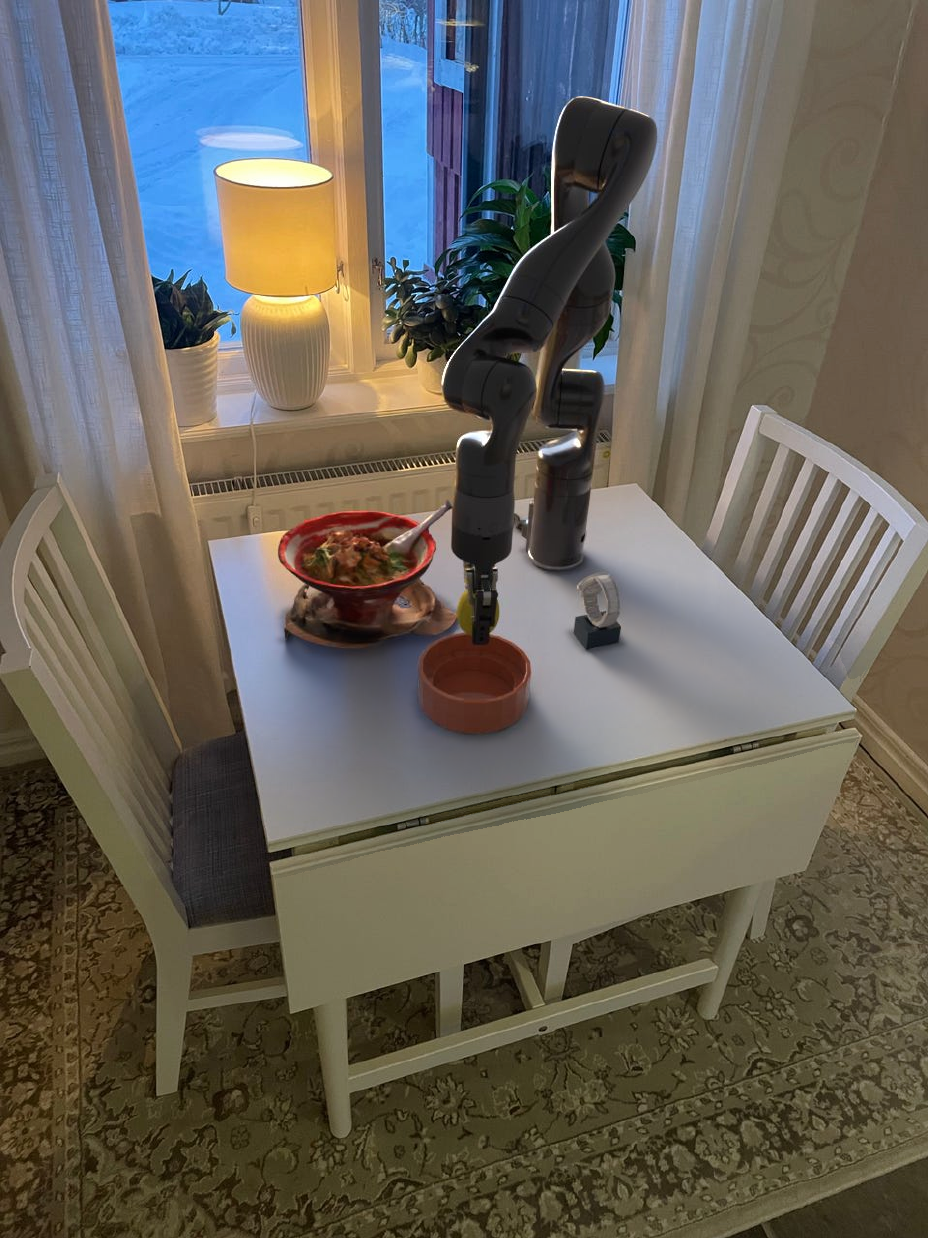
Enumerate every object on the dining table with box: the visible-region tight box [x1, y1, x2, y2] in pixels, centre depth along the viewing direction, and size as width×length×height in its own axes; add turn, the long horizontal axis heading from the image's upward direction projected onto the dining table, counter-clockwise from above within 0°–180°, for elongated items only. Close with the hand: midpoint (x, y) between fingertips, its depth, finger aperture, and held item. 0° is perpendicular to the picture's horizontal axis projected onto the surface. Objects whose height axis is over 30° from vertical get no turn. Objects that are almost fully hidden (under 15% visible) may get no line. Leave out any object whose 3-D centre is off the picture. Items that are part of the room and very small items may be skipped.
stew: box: [277, 499, 458, 649], centre depth 141 cm, size 28×24×16 cm
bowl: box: [417, 631, 532, 734], centre depth 128 cm, size 15×15×6 cm
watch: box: [572, 572, 622, 651], centre depth 139 cm, size 6×8×11 cm
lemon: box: [456, 589, 500, 636], centre depth 121 cm, size 6×6×8 cm
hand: (477, 628), depth 123 cm, fingers closed on lemon, 5 cm apart
